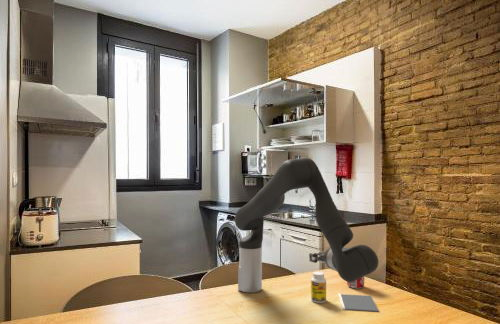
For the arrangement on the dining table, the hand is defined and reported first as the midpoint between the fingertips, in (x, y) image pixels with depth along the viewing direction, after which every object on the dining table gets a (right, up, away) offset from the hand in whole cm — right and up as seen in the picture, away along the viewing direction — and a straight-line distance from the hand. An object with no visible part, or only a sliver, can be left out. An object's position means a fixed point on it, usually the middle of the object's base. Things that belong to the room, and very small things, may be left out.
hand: (326, 255), depth 118 cm
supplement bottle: (-1, -19, +8) cm, 21 cm away
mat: (+13, -19, +6) cm, 23 cm away
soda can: (+17, -20, +23) cm, 35 cm away
